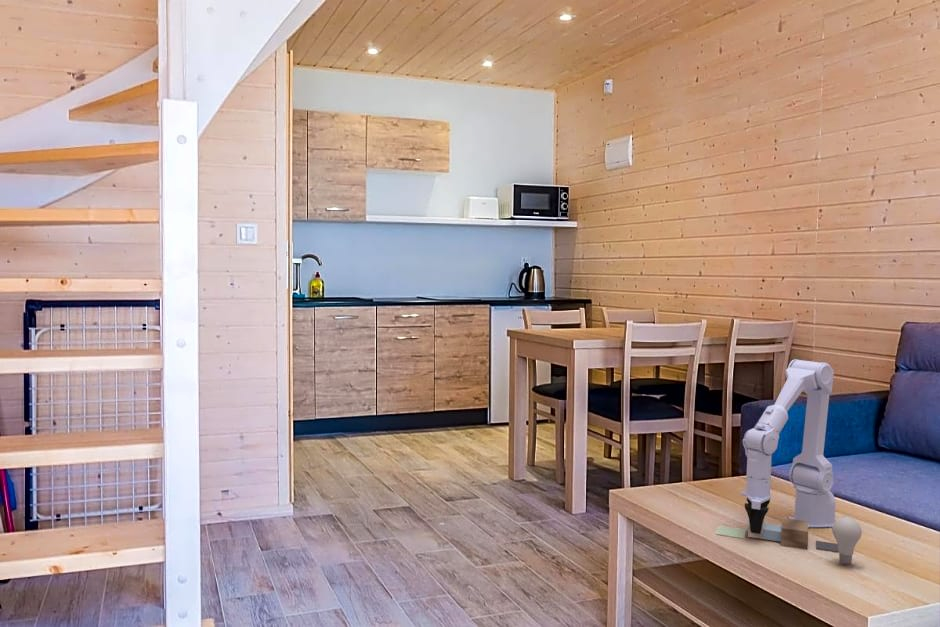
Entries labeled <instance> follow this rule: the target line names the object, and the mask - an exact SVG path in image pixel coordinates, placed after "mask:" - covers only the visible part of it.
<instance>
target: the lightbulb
mask: <svg viewBox="0 0 940 627" xmlns="http://www.w3.org/2000/svg"><path fill="white" fill-rule="evenodd" d="M831 531H832V534H833V537H834V539H835V541H836V544H838V552H839V553H838V552H837V553H838V559H839V562H840V563H842V564H843V565H844V566H847V565H848V566H849V565H850V564H851V563H852V560H853V555H854V552H855V551H854V550H855V547H856V545H857V543H858V542H859V541H860V539H861V537H862V527H861V525H860V524H859V522H858V521H857V520H856V519H854V518H852V517H849V516H841V517H838V518H837V519H835V522H834V523H833V526H832V527H831Z"/></svg>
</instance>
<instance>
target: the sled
mask: <svg viewBox="0 0 940 627" xmlns="http://www.w3.org/2000/svg"><path fill="white" fill-rule="evenodd" d="M765 520H766V519H765V517H764V520H763V524H762V529H761V532H760V534H756V533H751V530H750V523H749V522H748V529H747V531H748V532H747V537H749V538H753V539H761V540H768V541H775V542H780V543H781V528H782V525H777V524H776V525H775V524H770V523H765Z"/></svg>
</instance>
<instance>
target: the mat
mask: <svg viewBox="0 0 940 627" xmlns="http://www.w3.org/2000/svg"><path fill="white" fill-rule="evenodd" d="M746 533H747V529H745V528H739V527H730V526H724V525H717V528H716V531H715V533H714V534H715V535H717V536H723V537H731V538H737V539H745V538H746Z"/></svg>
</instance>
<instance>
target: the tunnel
mask: <svg viewBox="0 0 940 627" xmlns="http://www.w3.org/2000/svg"><path fill="white" fill-rule="evenodd" d="M781 526H782V528H781V542H780V546H781V547H787V548H788V547H789V548H794V549H800V550H801V549H802V550H807V551H808V545H809V544H808V542H809V527H808V521H802V520H794V519H788V517H787V518H786V517H782V520H781Z"/></svg>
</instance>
